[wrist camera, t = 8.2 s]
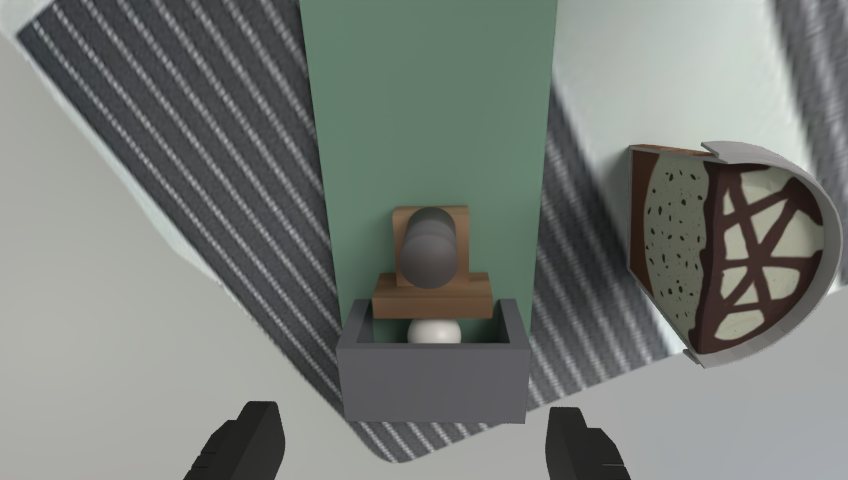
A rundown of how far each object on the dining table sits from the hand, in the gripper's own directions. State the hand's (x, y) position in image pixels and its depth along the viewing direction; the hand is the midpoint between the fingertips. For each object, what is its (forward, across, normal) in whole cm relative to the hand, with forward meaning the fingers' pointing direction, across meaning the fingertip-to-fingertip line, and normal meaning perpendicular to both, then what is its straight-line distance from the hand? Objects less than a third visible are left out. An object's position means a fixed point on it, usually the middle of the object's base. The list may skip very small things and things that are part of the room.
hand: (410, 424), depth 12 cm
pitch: (+19, 0, -1) cm, 19 cm away
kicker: (+18, 0, +2) cm, 18 cm away
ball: (+16, 0, +9) cm, 18 cm away
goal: (+18, 0, +10) cm, 21 cm away
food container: (+19, -17, 0) cm, 26 cm away
